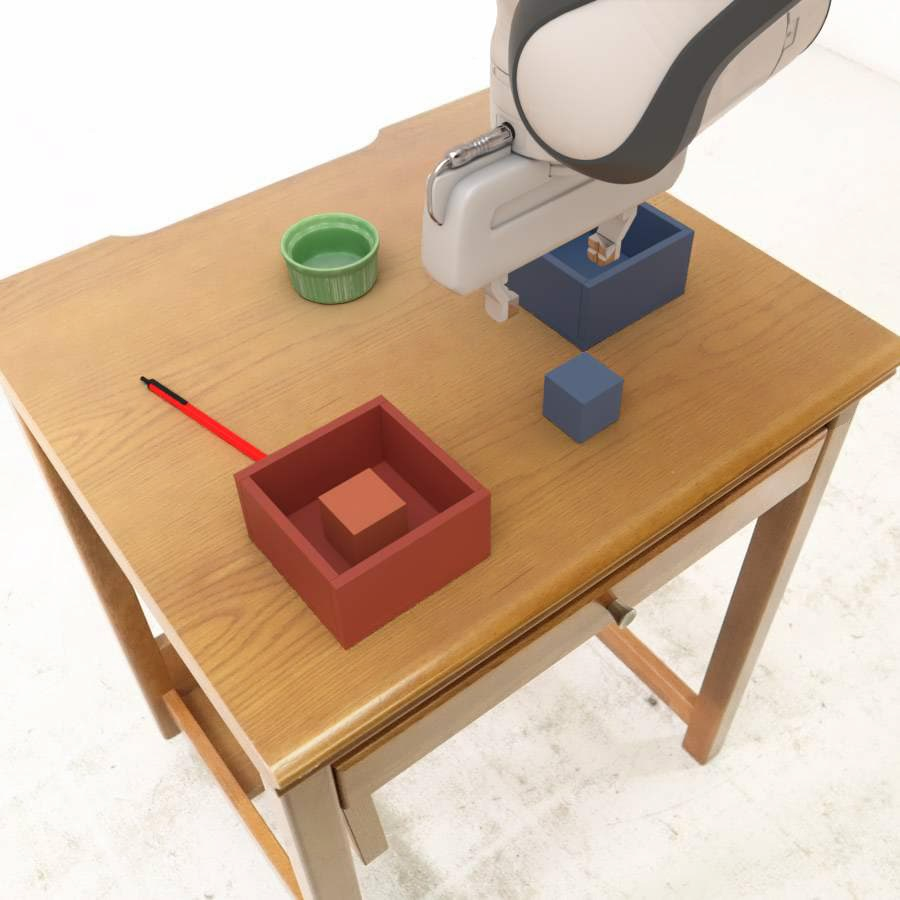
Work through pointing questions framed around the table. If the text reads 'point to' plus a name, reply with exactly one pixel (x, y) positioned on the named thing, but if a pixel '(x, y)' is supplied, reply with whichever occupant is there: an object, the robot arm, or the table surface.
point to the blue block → (582, 396)
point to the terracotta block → (362, 516)
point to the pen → (204, 419)
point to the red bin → (397, 565)
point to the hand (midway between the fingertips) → (553, 286)
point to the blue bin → (607, 279)
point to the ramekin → (331, 257)
